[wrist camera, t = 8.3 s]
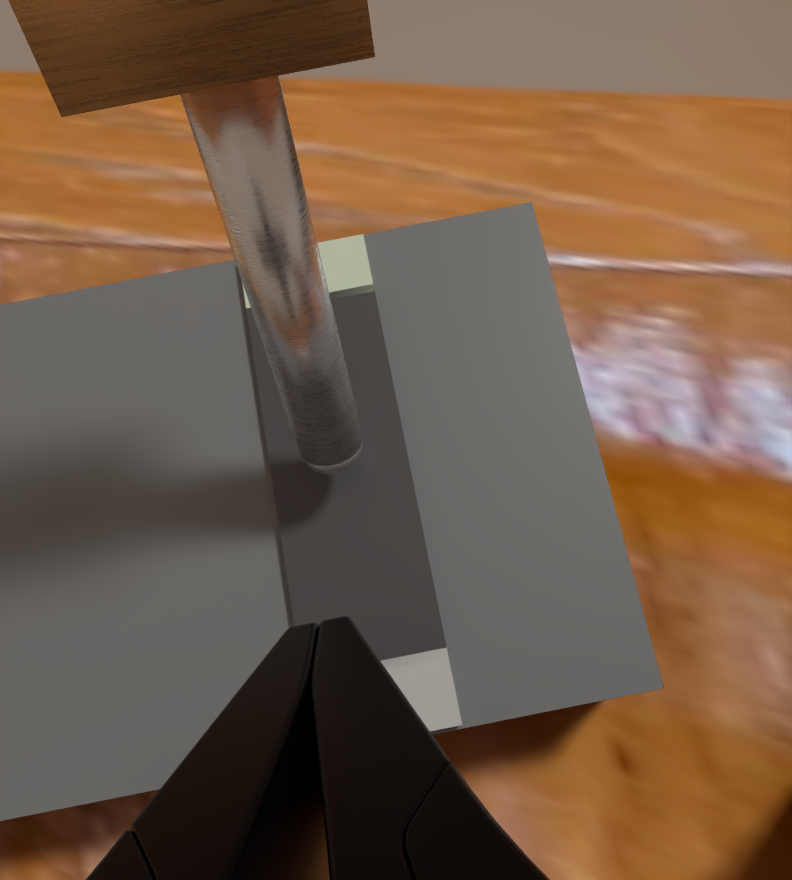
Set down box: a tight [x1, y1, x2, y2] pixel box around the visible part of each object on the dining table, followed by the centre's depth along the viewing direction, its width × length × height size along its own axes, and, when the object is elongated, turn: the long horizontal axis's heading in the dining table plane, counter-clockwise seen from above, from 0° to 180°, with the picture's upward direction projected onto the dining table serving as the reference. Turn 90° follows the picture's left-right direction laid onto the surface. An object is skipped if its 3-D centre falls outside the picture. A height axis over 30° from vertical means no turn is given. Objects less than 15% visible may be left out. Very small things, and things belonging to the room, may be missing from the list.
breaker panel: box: [0, 202, 664, 821], centre depth 18 cm, size 12×20×3 cm, turn 101°
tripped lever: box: [9, 0, 375, 475], centre depth 12 cm, size 2×4×11 cm, turn 101°
